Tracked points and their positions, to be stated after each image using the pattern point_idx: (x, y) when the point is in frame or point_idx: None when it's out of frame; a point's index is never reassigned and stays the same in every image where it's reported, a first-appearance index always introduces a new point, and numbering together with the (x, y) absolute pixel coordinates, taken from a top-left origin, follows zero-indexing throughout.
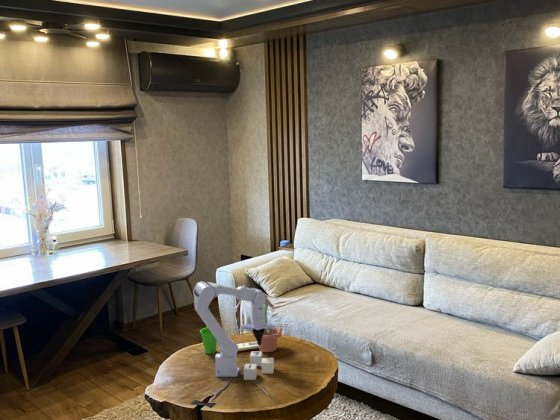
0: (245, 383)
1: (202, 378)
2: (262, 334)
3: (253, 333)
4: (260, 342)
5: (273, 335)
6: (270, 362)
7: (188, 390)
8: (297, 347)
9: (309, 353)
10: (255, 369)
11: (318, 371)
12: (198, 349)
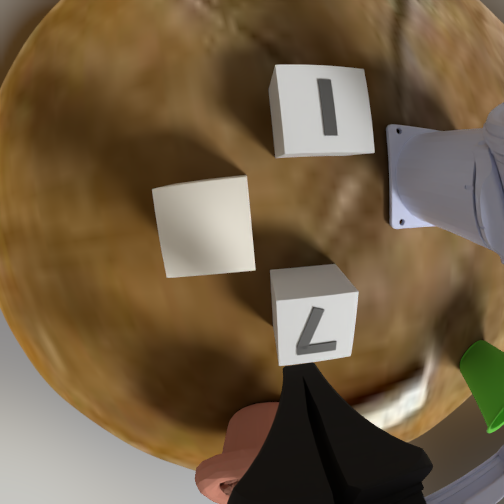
0: (317, 51)
1: None
2: (258, 471)
3: (419, 450)
4: (288, 383)
5: (223, 474)
6: (169, 194)
7: (493, 52)
8: (153, 429)
9: (90, 388)
10: (276, 90)
11: (7, 239)
12: None
